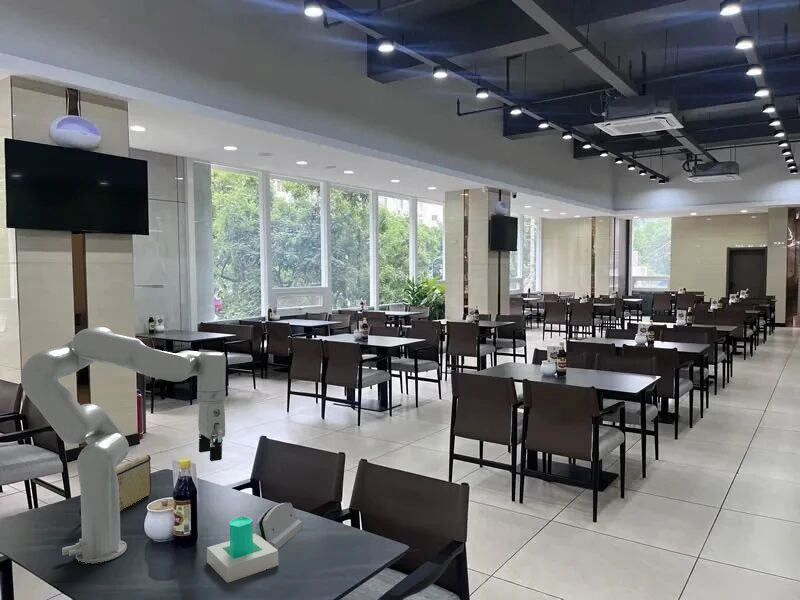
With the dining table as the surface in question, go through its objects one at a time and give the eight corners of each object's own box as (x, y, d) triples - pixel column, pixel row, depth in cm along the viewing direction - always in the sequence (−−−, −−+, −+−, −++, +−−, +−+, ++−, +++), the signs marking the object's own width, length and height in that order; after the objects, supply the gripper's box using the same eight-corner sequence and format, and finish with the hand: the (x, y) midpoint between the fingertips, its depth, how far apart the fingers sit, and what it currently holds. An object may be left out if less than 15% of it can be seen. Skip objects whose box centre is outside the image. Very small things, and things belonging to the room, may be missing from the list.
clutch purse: (137, 493, 207) (136, 452, 206) (154, 495, 205) (153, 453, 205) (72, 528, 178) (71, 480, 177) (91, 530, 176) (90, 481, 176)
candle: (232, 555, 156) (231, 511, 156) (255, 554, 157) (254, 510, 156) (227, 565, 150) (226, 520, 150) (251, 564, 151) (250, 519, 150)
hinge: (276, 550, 161) (265, 516, 162) (262, 554, 162) (251, 519, 163) (304, 526, 177) (293, 495, 177) (291, 530, 178) (281, 498, 179)
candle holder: (227, 582, 143) (227, 567, 143) (207, 562, 154) (206, 547, 154) (278, 565, 152) (278, 550, 152) (255, 546, 163) (255, 533, 163)
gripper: (235, 400, 158) (233, 461, 158) (214, 390, 172) (213, 446, 172) (207, 402, 153) (206, 466, 154) (188, 392, 167) (187, 450, 168)
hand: (210, 455), depth 163 cm, fingers open, 9 cm apart
